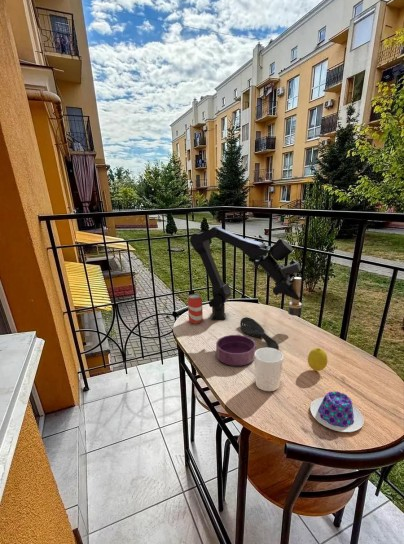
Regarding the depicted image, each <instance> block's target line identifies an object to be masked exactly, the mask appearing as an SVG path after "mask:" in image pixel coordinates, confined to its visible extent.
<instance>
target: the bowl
mask: <svg viewBox="0 0 404 544" xmlns="http://www.w3.org/2000/svg"><path fill="white" fill-rule="evenodd" d="M215 344H216V345H215V347H216V350H215V351H216V358H217V360H219V362H221V363H223V364H225V365H228V366H232V367H242V366H246V365H249V364H250V363H252V362H253V361H255V351H256V350H257V345H256V341H255V340H254V339H253V338H251V337H250V336H249V337H248V336H246V335H241V334H228V335H224V336H222V337H220V338H218V339H217V341H216V342H215Z"/></svg>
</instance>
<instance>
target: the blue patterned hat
mask: <svg viewBox="0 0 404 544" xmlns="http://www.w3.org/2000/svg"><path fill="white" fill-rule="evenodd" d="M309 410H310V414H311V415H312V417H313V418H314V419H315V420H316V421H317V422H318V423H319V424H320V425H322V426H324V427H325V428H327V429H330V430H333V431H337V432H340V433H353V432H356V431H359V430H360V429H361V428H362V427H363V426H364V423H365V420H364V416H363V414H362V412H361V411H360V410H359V409H358V408H357V407H356V406H355V405H353V401H352V399H351V398H350V397H348V395H347V394H346V393H343V392H340V391H328V392H327V393H326V394H325V395H324V396H322V397H318V398H316V399H314V400H313V401H311V403H310V406H309Z"/></svg>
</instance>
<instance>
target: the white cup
mask: <svg viewBox="0 0 404 544" xmlns="http://www.w3.org/2000/svg"><path fill="white" fill-rule="evenodd" d="M283 362H284V353H283V352H282V351H280V349H279V350H277V349H274V348H269V347H260V348H258V349H256V351H255V359H254V377H255V385H256V387H257V389H260V390H261V391H264V392H274V391H276V390H279V387H280V383H281V378H282V371H283Z"/></svg>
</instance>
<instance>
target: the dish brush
mask: <svg viewBox="0 0 404 544" xmlns="http://www.w3.org/2000/svg"><path fill="white" fill-rule="evenodd" d="M293 279H294V282H293V289H294V290H295V292H296V293H297V294H298V296H299V298H300V299H299V300H296V299H293V298H291V301H289V302H288V307H287V308H288V309H287V313H288V315H291V316H300V315H302V309H303V306H302V305H303V303H302V302H301V301H300V300H301V297H300V295H301V288H302V279H303V278H302V277H300V276H296V277H295V276H293Z"/></svg>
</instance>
